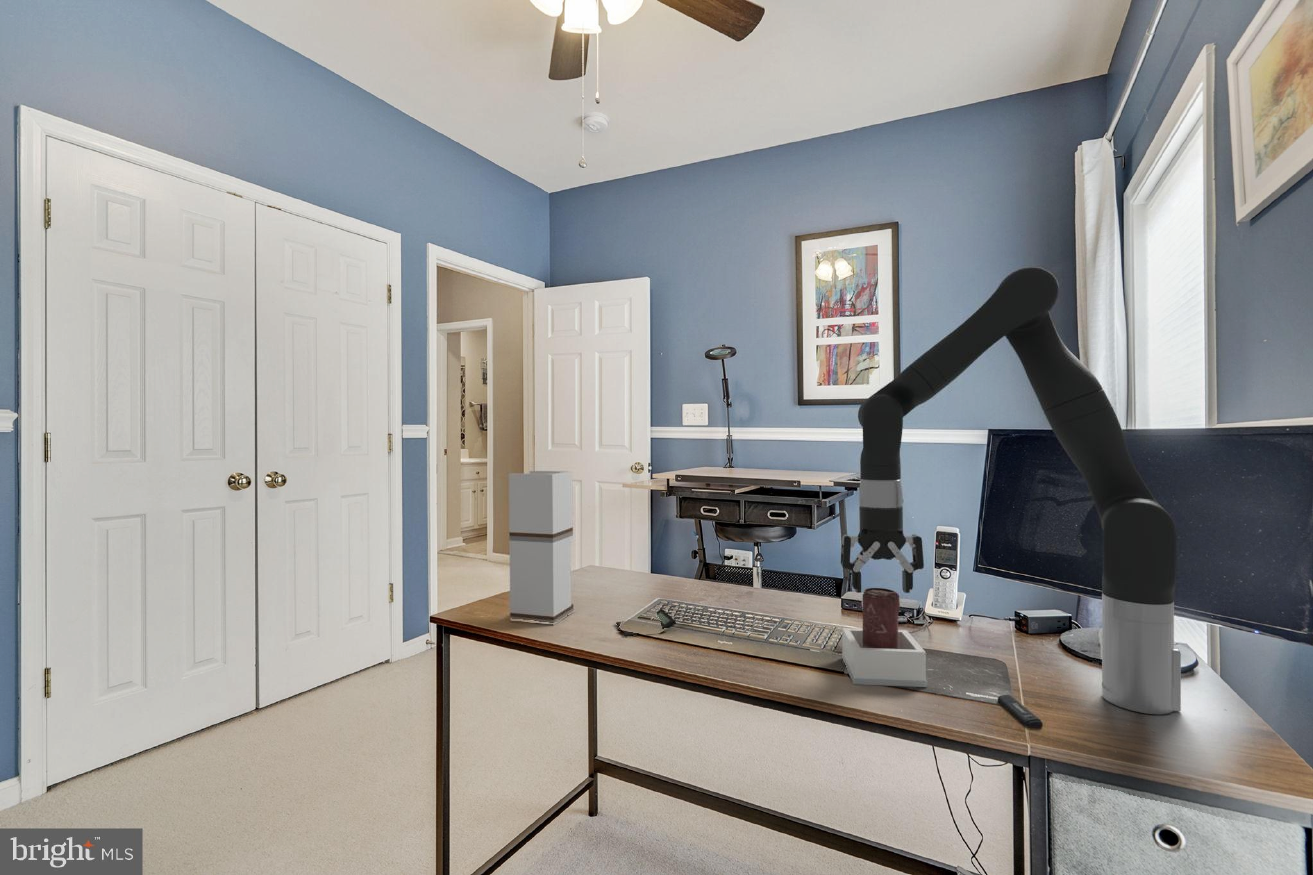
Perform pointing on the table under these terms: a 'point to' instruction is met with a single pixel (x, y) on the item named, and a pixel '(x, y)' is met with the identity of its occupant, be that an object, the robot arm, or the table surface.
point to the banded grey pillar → (540, 545)
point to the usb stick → (1020, 711)
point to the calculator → (665, 621)
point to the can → (880, 618)
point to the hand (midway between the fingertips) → (881, 591)
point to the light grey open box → (884, 661)
